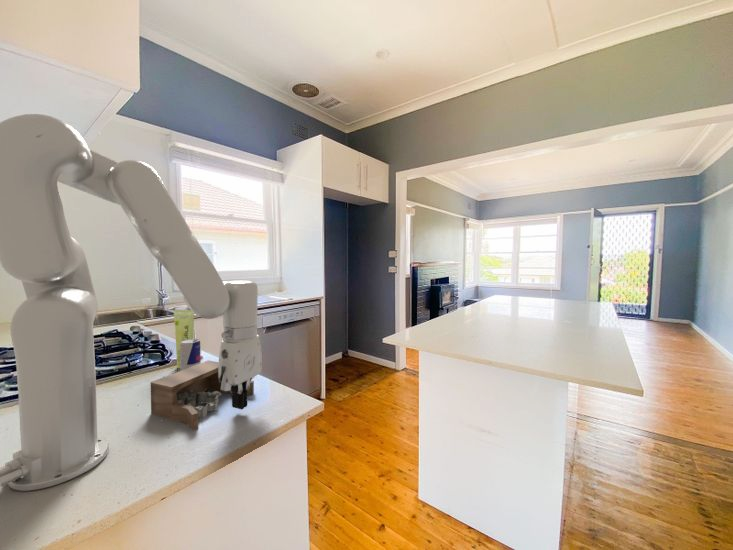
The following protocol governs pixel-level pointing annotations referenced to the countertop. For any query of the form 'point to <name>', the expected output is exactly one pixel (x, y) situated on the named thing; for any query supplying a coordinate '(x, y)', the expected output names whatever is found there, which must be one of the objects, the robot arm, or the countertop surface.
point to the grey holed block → (200, 401)
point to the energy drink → (189, 353)
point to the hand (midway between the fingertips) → (239, 406)
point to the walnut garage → (180, 382)
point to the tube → (183, 328)
